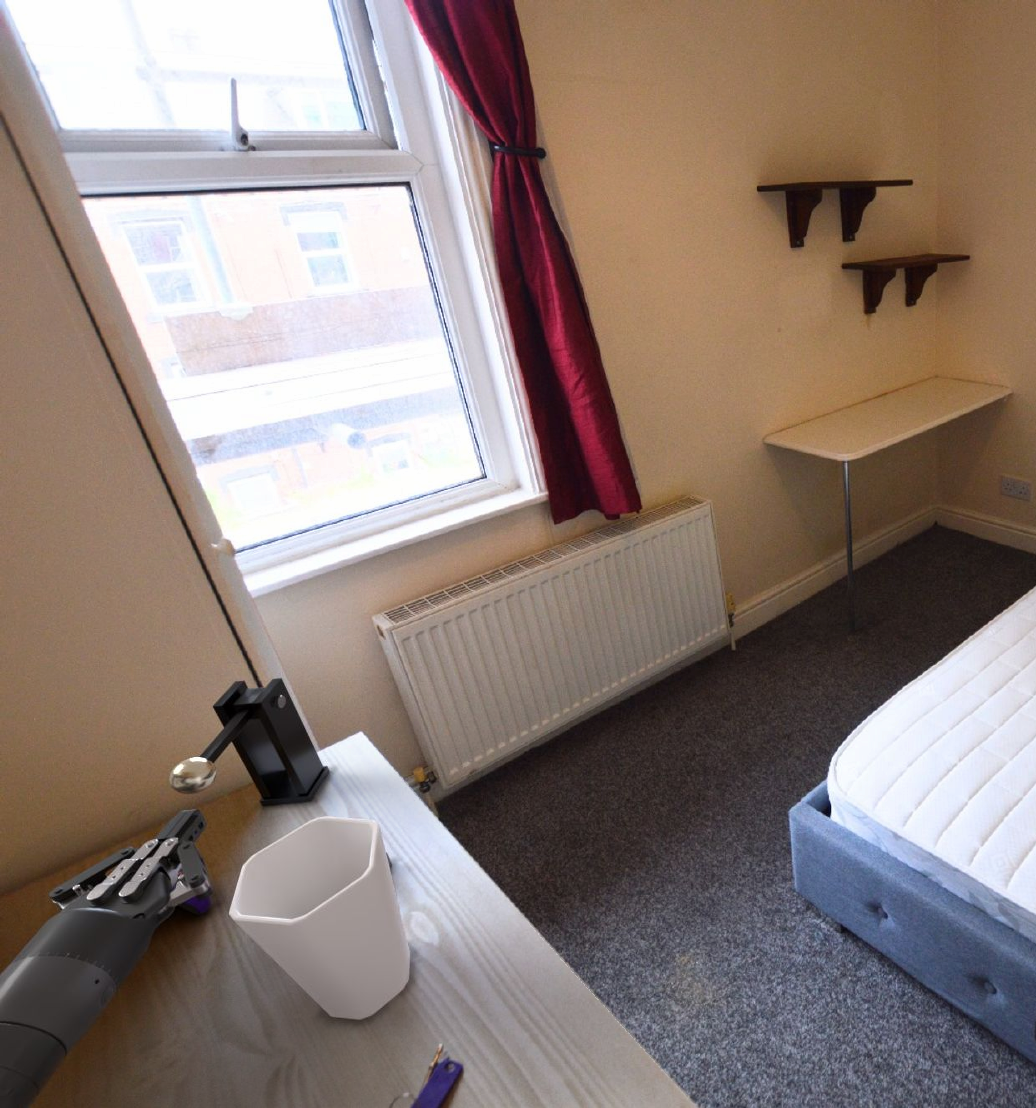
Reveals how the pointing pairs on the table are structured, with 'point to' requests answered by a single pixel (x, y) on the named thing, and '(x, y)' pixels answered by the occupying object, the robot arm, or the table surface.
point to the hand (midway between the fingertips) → (194, 815)
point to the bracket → (275, 745)
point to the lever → (213, 749)
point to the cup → (328, 914)
